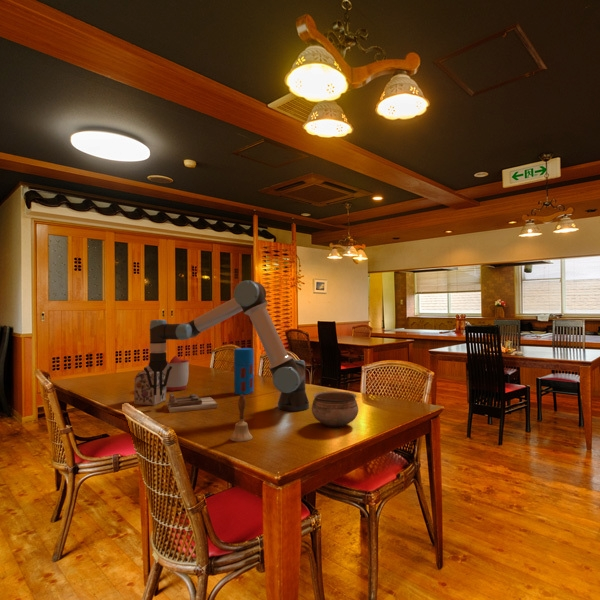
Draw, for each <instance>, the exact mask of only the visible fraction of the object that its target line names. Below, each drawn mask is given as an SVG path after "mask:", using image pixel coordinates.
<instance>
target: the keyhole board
mask: <svg viewBox="0 0 600 600" xmlns="http://www.w3.org/2000/svg"><path fill="white" fill-rule="evenodd" d="M189 396H190V397H191V399H193V401H196V399H198V397H196V396H197V394H195V393H194V394H193V393H192V394H189ZM199 398H200V399H201V400H202V404H194V405H183V406H173V407H171V405H170V402H169V400H166V407H167V410H168V412H169V414H171V413H181V412H192V411H200V410H211V409H218V403H217V402H216V400H215V399H213V398H212V397H210V396H209V397H199Z"/></svg>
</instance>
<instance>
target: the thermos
mask: <svg viewBox="0 0 600 600" xmlns="http://www.w3.org/2000/svg"><path fill="white" fill-rule="evenodd" d="M233 351H234V353H233V355H234V357H233V359H234V360H233V362H234V364H233V366H234V367H233V368H234V369H233V370H234V372H233V376H234V377H233V384H234V385H233V386H234V387H233V388H234V395H237V394H238V396H240V395H244V396H246V394H248V395H252V394H253V393H254V348H252V347H243V348H242V347H239V348H234V350H233Z"/></svg>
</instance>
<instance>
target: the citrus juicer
mask: <svg viewBox="0 0 600 600" xmlns="http://www.w3.org/2000/svg"><path fill="white" fill-rule="evenodd" d="M166 361H167V364H168V365H170V366H172V369H171V370H170V373H169V377H168V381H167V385H166V391H169V392H174V391H181V390H182V391H183V390H185V389H186V388H187V386H188V385H187V384H188V382H189V366H190V365H189V364H190V363H189V361H190V360H189V359H181V358H179V357H178V356H177V355H175V356H173V357H172V358H171V359H170V361H168V360H166ZM163 372H164V373H165V374H166V372H167V366H166V367H165V369H164V370H163Z"/></svg>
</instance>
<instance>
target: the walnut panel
mask: <svg viewBox="0 0 600 600" xmlns="http://www.w3.org/2000/svg"><path fill="white" fill-rule="evenodd" d="M196 397H198V399H196V401H193V399H191V397H190V395H188V396H179V397H175V394H174V392H169V398H168V401H169V402H170V405H171V407H173V406H183V405H194V404H202V400H201V399H200V398H201V397H199V395H196Z"/></svg>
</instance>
